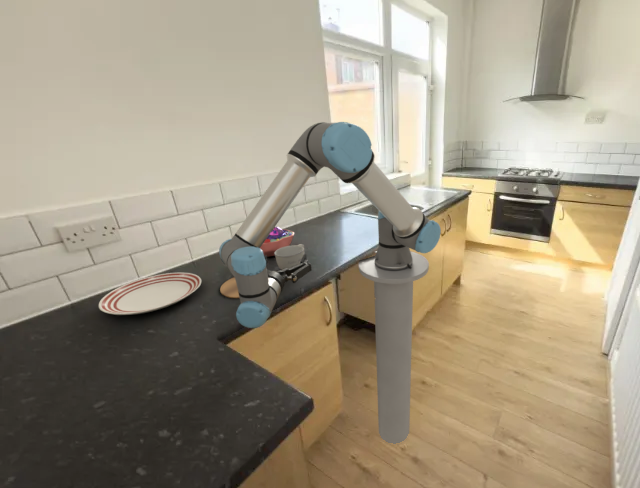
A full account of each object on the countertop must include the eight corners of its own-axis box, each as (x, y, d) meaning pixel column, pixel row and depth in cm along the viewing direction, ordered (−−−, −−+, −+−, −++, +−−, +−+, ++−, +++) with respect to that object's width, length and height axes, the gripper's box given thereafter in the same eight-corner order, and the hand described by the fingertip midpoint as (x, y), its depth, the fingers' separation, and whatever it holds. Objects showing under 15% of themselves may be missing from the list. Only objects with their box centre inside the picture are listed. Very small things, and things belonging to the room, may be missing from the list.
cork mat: (286, 279, 115) (286, 278, 114) (245, 303, 100) (245, 302, 100) (251, 269, 122) (250, 268, 122) (208, 290, 108) (208, 289, 108)
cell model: (242, 253, 137) (237, 228, 132) (287, 242, 148) (284, 219, 143) (254, 266, 124) (249, 239, 120) (302, 254, 135) (299, 229, 131)
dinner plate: (122, 286, 111) (119, 277, 110) (208, 273, 119) (206, 265, 118) (84, 332, 88) (79, 322, 86) (195, 312, 96) (192, 303, 94)
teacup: (291, 277, 116) (288, 257, 112) (271, 271, 121) (267, 251, 118) (317, 263, 126) (315, 245, 123) (298, 258, 132) (295, 240, 128)
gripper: (227, 300, 93) (251, 268, 112) (312, 297, 94) (322, 266, 113) (221, 277, 90) (248, 249, 109) (310, 275, 91) (320, 247, 110)
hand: (285, 258), depth 111 cm, fingers open, 13 cm apart
